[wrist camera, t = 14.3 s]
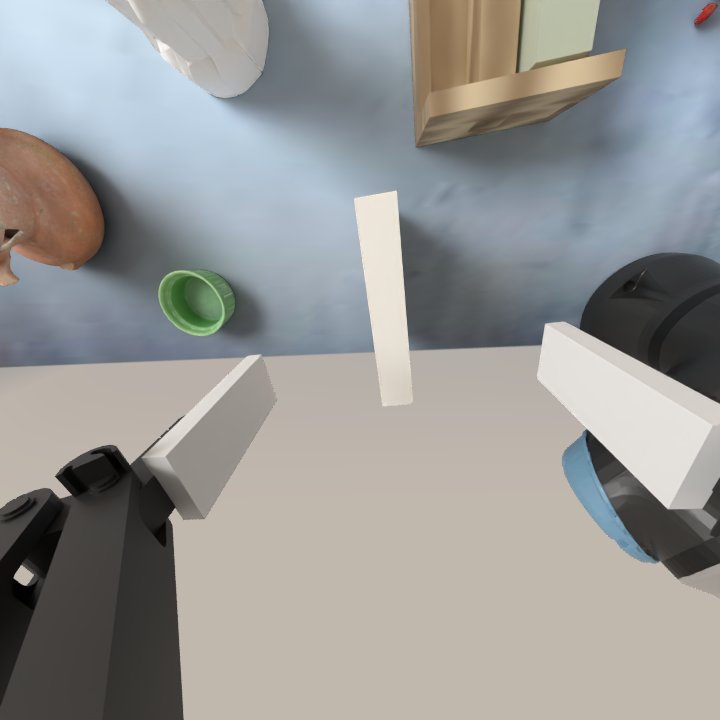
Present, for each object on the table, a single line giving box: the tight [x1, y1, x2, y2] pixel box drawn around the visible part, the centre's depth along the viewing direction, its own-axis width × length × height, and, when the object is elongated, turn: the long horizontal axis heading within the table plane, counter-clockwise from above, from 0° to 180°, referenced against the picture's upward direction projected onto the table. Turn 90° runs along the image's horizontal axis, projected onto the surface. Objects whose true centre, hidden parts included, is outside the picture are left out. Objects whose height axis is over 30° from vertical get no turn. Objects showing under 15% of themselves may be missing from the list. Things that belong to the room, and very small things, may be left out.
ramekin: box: [158, 270, 235, 336], centre depth 38 cm, size 9×9×4 cm
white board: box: [354, 191, 413, 406], centre depth 28 cm, size 2×15×20 cm, turn 9°
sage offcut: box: [515, 0, 600, 73], centre depth 22 cm, size 4×7×6 cm, turn 9°
